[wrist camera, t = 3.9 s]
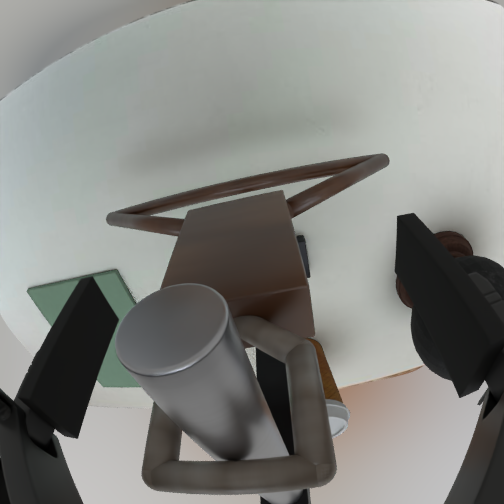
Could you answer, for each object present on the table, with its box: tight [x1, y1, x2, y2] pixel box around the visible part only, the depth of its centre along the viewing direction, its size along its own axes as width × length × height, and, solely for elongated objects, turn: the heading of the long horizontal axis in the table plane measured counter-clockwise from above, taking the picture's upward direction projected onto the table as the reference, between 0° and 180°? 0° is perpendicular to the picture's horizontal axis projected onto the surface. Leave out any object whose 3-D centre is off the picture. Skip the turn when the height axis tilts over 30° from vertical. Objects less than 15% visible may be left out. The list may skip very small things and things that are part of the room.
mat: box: [27, 270, 141, 387], centre depth 38 cm, size 22×16×1 cm
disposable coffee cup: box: [305, 338, 350, 438], centre depth 34 cm, size 10×10×12 cm
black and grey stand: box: [115, 235, 311, 504], centre depth 18 cm, size 8×17×23 cm, turn 12°
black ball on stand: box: [396, 231, 504, 381], centre depth 26 cm, size 13×13×15 cm
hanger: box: [106, 154, 390, 495], centre depth 13 cm, size 21×2×18 cm, turn 102°
